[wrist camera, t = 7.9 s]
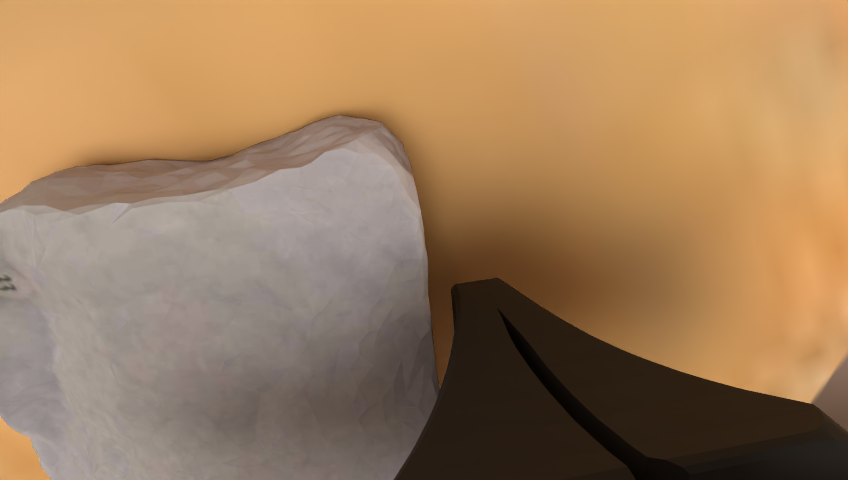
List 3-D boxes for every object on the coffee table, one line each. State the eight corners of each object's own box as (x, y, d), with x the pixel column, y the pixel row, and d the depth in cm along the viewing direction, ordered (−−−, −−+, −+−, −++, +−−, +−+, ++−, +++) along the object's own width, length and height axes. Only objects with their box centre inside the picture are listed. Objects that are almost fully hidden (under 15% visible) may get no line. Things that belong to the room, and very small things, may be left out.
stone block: (188, 473, 17) (467, 466, 15) (89, 628, 12) (469, 635, 11) (46, 143, 12) (425, 99, 11) (-192, 200, 8) (401, 136, 7)
